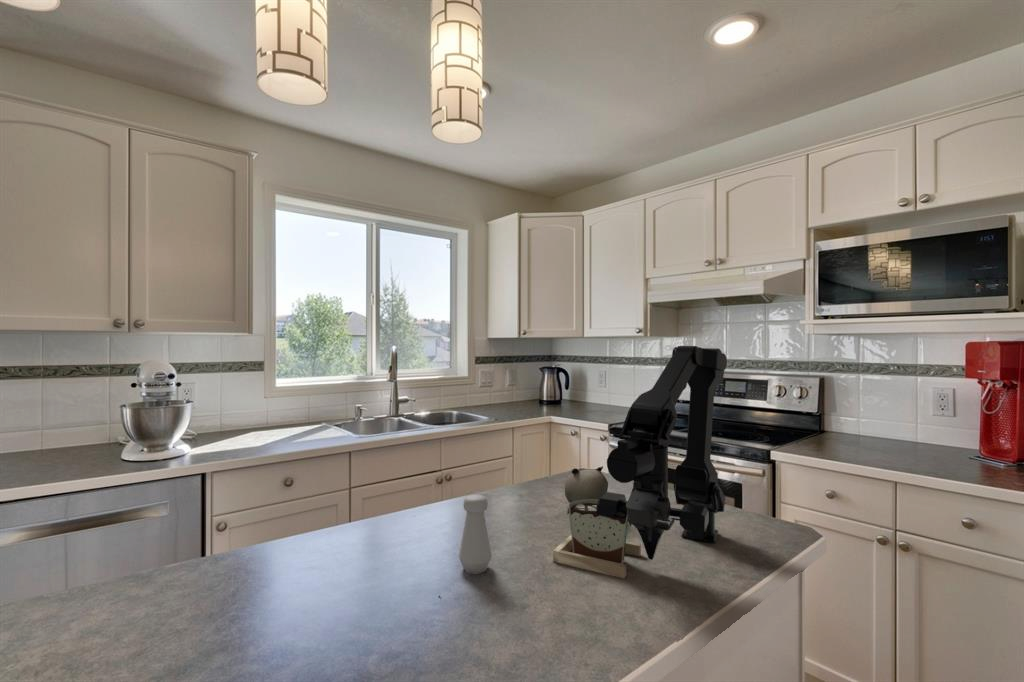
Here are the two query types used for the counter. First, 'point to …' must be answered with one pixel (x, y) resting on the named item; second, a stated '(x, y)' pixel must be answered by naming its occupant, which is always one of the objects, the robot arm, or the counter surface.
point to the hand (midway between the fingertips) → (651, 558)
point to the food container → (597, 531)
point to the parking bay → (593, 559)
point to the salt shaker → (475, 536)
